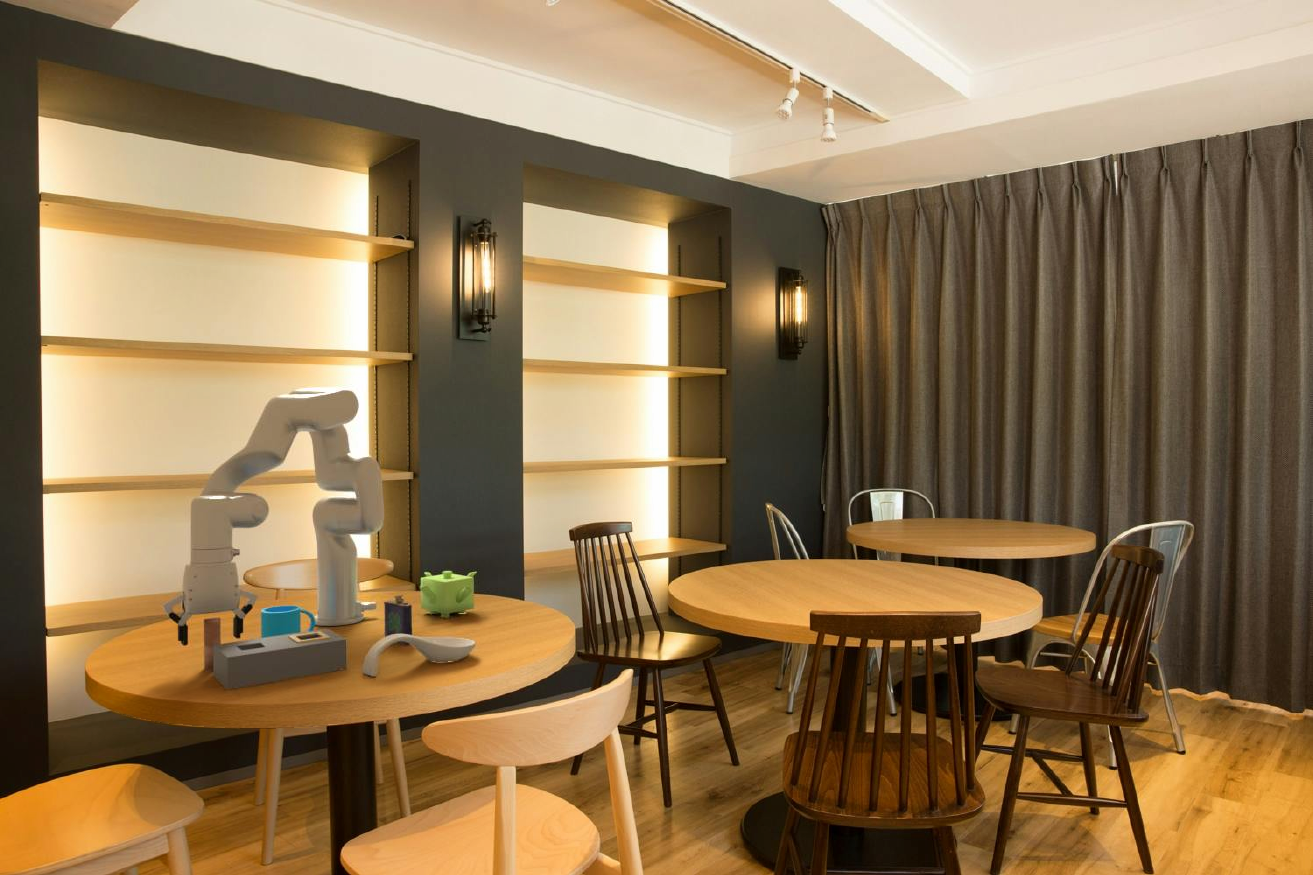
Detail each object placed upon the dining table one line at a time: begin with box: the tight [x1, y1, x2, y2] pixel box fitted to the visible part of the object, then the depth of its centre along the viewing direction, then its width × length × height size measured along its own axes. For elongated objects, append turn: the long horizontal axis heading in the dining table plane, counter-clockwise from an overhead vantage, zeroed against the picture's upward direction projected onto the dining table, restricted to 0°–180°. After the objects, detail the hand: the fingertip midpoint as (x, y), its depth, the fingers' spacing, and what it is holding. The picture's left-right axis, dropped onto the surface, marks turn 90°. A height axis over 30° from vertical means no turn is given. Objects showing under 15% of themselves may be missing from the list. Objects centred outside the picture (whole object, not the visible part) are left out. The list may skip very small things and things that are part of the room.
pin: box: [203, 616, 222, 671], centre depth 173 cm, size 3×3×10 cm
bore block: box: [212, 628, 348, 690], centre depth 170 cm, size 22×12×6 cm, turn 129°
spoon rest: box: [362, 634, 477, 678], centre depth 176 cm, size 24×12×7 cm, turn 135°
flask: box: [383, 594, 413, 646], centre depth 195 cm, size 9×3×11 cm, turn 50°
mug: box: [260, 605, 316, 638], centre depth 193 cm, size 12×8×8 cm
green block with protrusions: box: [419, 570, 477, 618], centre depth 224 cm, size 15×14×11 cm
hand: (211, 640), depth 173 cm, fingers open, 9 cm apart
